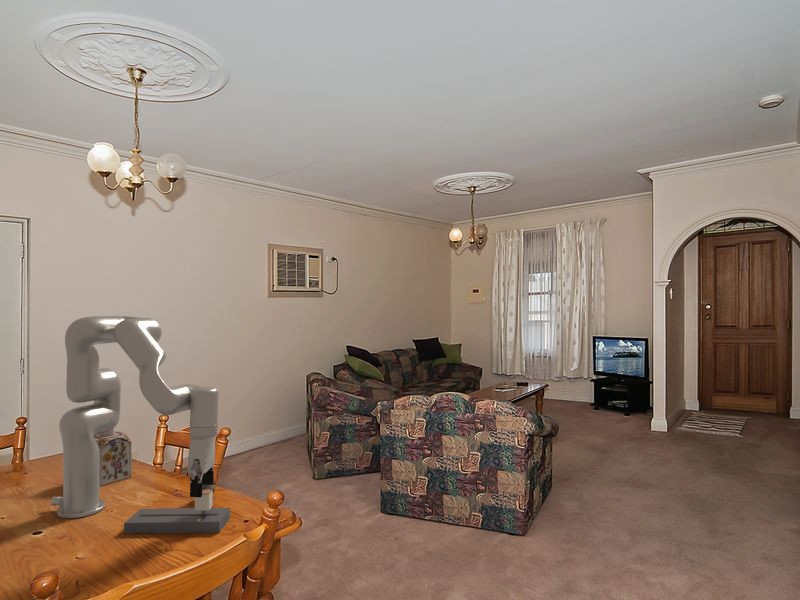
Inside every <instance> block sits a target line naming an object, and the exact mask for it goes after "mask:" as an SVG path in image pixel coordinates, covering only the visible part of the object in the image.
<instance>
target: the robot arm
mask: <svg viewBox="0 0 800 600" xmlns="http://www.w3.org/2000/svg"><path fill="white" fill-rule="evenodd" d="M162 332H163V330H162V327H161V326H160V324H159V323H158V322H157V320H155V319H152V318H149V317H137V316H125V315H95V316H85V317H81V318H78V319H76V320H74V321H73V322H71V323H70V324H69V325H68V327H67V329H66V331H65V334H64V335H65V336H64V344H65V352H66V379H65V380H66V381H65V382H66V384H65V385H66V386H65V388H66V389H65V390H66V396H67V399H68V400H69V401H70V402H72V403H74V404H75V403H77V404H82V403H87V402H88V403H89V402H93V404H92V403H91V404H88V405H82V406H78V407H75V408H72V409H70V410H68V411H66V412H65V413H64V414H63V415H62V416H61V418H60V420H59V424H58V427H59V432H60V436H61V441H62V454H63V455H62V458H63V459H62V460H63V461H62V463H63V465H62V467H63V470H62V473H63V476H62V477H63V480H62V487H63V489H62V490H63V491H62V494H63V495H62V496H52V497H51V500H50V505H51V506H59V508H58V509H57V510H56V516H57V517H59V518H63V519H77V518H82V517H87V516H91V515H94V514H96V513H99V512H101V511H102V510H104V508H105V507H106V502H105V501H104V500H102V499H100V486H99V479H100V453H99V447H98V444H97V443H96V441H95V439H94V437H93V436H94V435H96V434H100V433H103V432H106V431H109V430H111V429H115V428H116V426H118V424H119V421H120V418H121V415H120V414H121V394H122V393H121V392H122V391H121V389H122V388H121V387H122V385H121V380H120V378H119V375H118V374H117V372H115V371H114V370H113V369H111V368H106V367H105V368H100V355H99V353H98V350H97V349H96V347H95V345H102V344H103V345H104V344H115V343H117V344H118V345H119V346H120V347H121V349H122V350H123V351H124V353H125V354H126V355H127V357H128V358H129V359H130V360H131V362H132V363H133V364H134V365H135V367H136V368H137V370H138V371H139V372H138V373H139V374H138V383H139V388H140V392H141V393H142V395H143V397H144V398H145V400H146V401H147V402H148V403H149V405H150V406H151V407H152V408H153V410H154V411H156V412H157V413H159V414H160V415H163V416H171V415H175V414H178V413H181V412H185V411H186V412H187V411H189V438H190V441H189V447H188V456H187V475H189V497H190V498H195V497H202V485H213V486H214V483H215V482H214V481H215V480H214V477H215V475H214V473H215V461H216V438H217V436H218V429H219V428H218V425H219V422H218V420H219V389H217V388H216V387H213V386H200V385H196V384H193V383H192V384H191V383H183V384H180V385H174V386H170V387H169V386H168V385H167V384H166V383H165V381H164V380H163V379H162V377H161V375H160V373H159V367H161V366H162V364H163V363H164V361H165V360H166V358H167V354H166V352H165V350H164V349H163V348H162V347H161V346H160V345H159V343H158V342H159V341H160V340H161V337H162ZM201 481H202V482H201Z"/></svg>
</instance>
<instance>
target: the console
mask: <svg viewBox="0 0 800 600" xmlns="http://www.w3.org/2000/svg"><path fill="white" fill-rule="evenodd" d="M230 518H231V507H212V508H211V509H210V510H207V513H206V514H202V515H201V510H199V511H195V507H181V508H180V507H179V508H178V507H175V508H171V507H170V508H168V507H167V508H165V507H164V508H140V509H139V510H138V511H137V512H135V513H134V514H132V516H131V517H129V518H128V519H126V521H124V522H123V534H124V535H132V534H134V533H154V534H206V533H208V534H210V533H211V534H215V533H217V534H218V533H221V531H223V528H224V527H225V526H226V524H227V523H228V522H229V520H231V519H230ZM128 533H129V534H128ZM134 535H135V534H134Z"/></svg>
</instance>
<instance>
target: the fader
mask: <svg viewBox="0 0 800 600" xmlns="http://www.w3.org/2000/svg"><path fill="white" fill-rule="evenodd" d="M213 495H214V493H213V490H202V497H194V508H195V511H199V510H201V515H202V514H206V513H207V510H210V509H211V508H213V501H214V500H213V497H214V496H213Z"/></svg>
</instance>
